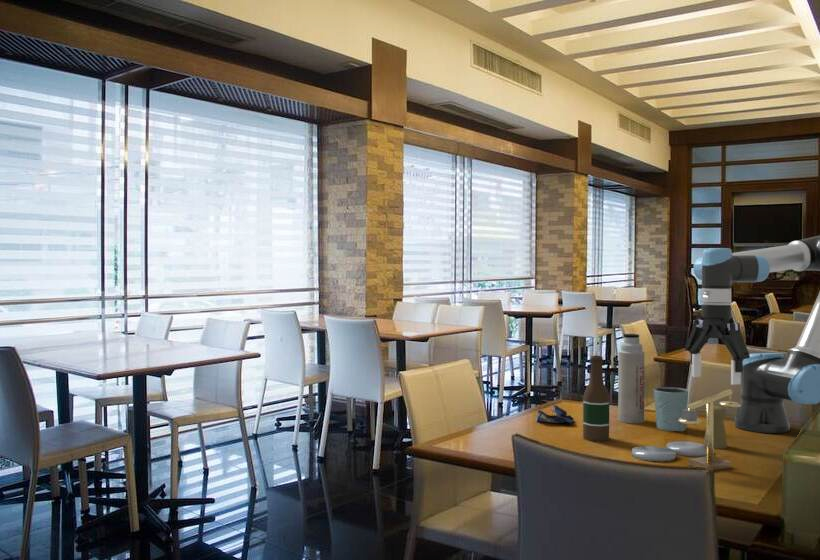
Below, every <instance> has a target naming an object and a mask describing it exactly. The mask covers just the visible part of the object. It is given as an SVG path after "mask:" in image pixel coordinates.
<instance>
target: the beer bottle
mask: <svg viewBox="0 0 820 560" xmlns="http://www.w3.org/2000/svg"><path fill="white" fill-rule="evenodd" d="M589 360H590V373H589V374H590V375H589V376H590V377H589V383H588V385H587V386H586V388H585V390H584V393H583V400H582V401H583V403H582V410H583V411H582V415H583V416H582V417H583V419H582V425H583V426H582V432H583V433H582V434H583V435H582V436H583V439H584V440H586V439H587V441H589V442H597V441H599V442H598V443H601V441H602V442H607V441H609V439H610V393H609V390H608V388H607V387H606V386H607V385H605V383H604V375H603V361H604V358H603V356H602V355H597V354H596V355H591V356H590V359H589Z"/></svg>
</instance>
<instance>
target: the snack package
mask: <svg viewBox="0 0 820 560" xmlns="http://www.w3.org/2000/svg"><path fill="white" fill-rule="evenodd" d="M549 408H550V407H549ZM551 410H552V411H551V412H552V413H554V414H555V415H554V414H547V413H546V412H544V411H543V410H538V411H537V414H536V415H535V421H537V422H543V423H545V422H546V423H551V424H552V423H553V424H557V423H558V424H562V423H565V422H566V423H568V424H571V425H572V423H574V421H575V419H574V417H573V416H571V415H569V414H568V412H567V410H565V409H563V408H562V407H560V406H558V405H556V404H553V405H552V409H551Z"/></svg>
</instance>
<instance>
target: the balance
mask: <svg viewBox="0 0 820 560" xmlns="http://www.w3.org/2000/svg"><path fill="white" fill-rule="evenodd" d="M732 394H733V390H732V389H731V388H730V389H725V390H722V391H720V392H717V393H715V394H712V395H710V396H707V397H705V398H702V399H700V400H696V401H694V402H692V403H689V404H687V409H683V410H682V418H679V422H680V423H683V424H686V425H692V426H693V425H694V426H695V425H696V426H697V425H700V424H701V419H698V410H695V409H697V408H700V407H702V406H705V405H706V408H707V416H706V426H707V427H706V428H705V432H706V456H699V457H694V458H689V459H688V465H687V466H690V465H692V466H691V467H693V468H696V467H705V468H711V469H713V471H718V470H726V469H730V468H732V461H730V460H728V459H724V458H722V457H719V456H715V455H714V448H713V423H714V406H715V405H714V404H715V403H714V402H715V401H717V400H721V399H722V398H726V397H729V399H728V400H723V401H719V405H718V406H720V407H723V408H724V407H725V408H739V407H741V402H738V401H732Z"/></svg>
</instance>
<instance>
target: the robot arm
mask: <svg viewBox="0 0 820 560" xmlns="http://www.w3.org/2000/svg"><path fill="white" fill-rule="evenodd" d="M692 269H693V273H694V276H695V277H696V278H697V279H699V280H700V281H701V303H703V304H702V305H701V317H702V318H703V319H694V320H693V326H692V330H691V332H690V333H689V336H688V338H687V341H686V344H685V346H684V351H687V352H689V353H690V365H691V377H692V378H699V377H700V378H701V377H702V353H701V350H702V349H703V347H704V346H705V345H706V344H707V342H708V340H709V339H710V338H714V339H719V340H721V341H722V342H723V344H724V346H725V347H726V349H727V350H728V351H729V353H730V355H731V357H732V359H731V360H730V365H731V366H730V385H732V386H735V385H740V389H741V390H740V395H741V396H740V403H741V407H737V408H738V409H737V412H736V415H735V417H734V426H735V428H738V429H741V430H745V431H749V432H755V433H765V434H766V433H767V434H780V433H782V434H783V433H787V432H789V431H790V430H791V427H790V420H789V419H788V414H787V412H786V409H785V405H784V400H788V401H791V402H795V403H797V404H806V405H817V404H819V403H820V291H819V292H818V295H817V297H816V300H815V301H814V303H813V305H812V308H811V311H810V314H809V315H808V318H807V320H806V322H805V325H804V327H803V329H802V332H801V335H800V336H799V339H798V341H797V343H796V345H795V347H792V348H789V349H788V350H787V352H786V354H785V355H784V354H783V353H782V352H761V353H750V352H749V350H748V348H747V345H746V342H745V339H744V337H743V335H742V334H743V333H741V326H740V325H741V324H740V322H731V323H730V319H731V318H732V306H731V303H732V286H733V285H732V284H733V283H753V284H754V283H759V282H760V283H761V282H763V281H765V280H767V279H768V276H770V275H769V274H770V273H775V272H782V271H788V270H793V271H795V272H803V271H817V272H820V235H816V236H812V237H807V238H802V239H799V240H797V239H796V240H793V241H791V242H789V243H788V244H787V245H780V246H779V245H778V246H773V247H772V246H771V247H767V248H766V247H765V248H759V249H758V248H757V249H750V250H745V251H738V252H733V251H732V249H731V248H729V247H727V248H726V247H709V248H704V249H703V251H702V256H699V257H698V258H697V259H696V260H695V261H694V263H693V268H692Z"/></svg>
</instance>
